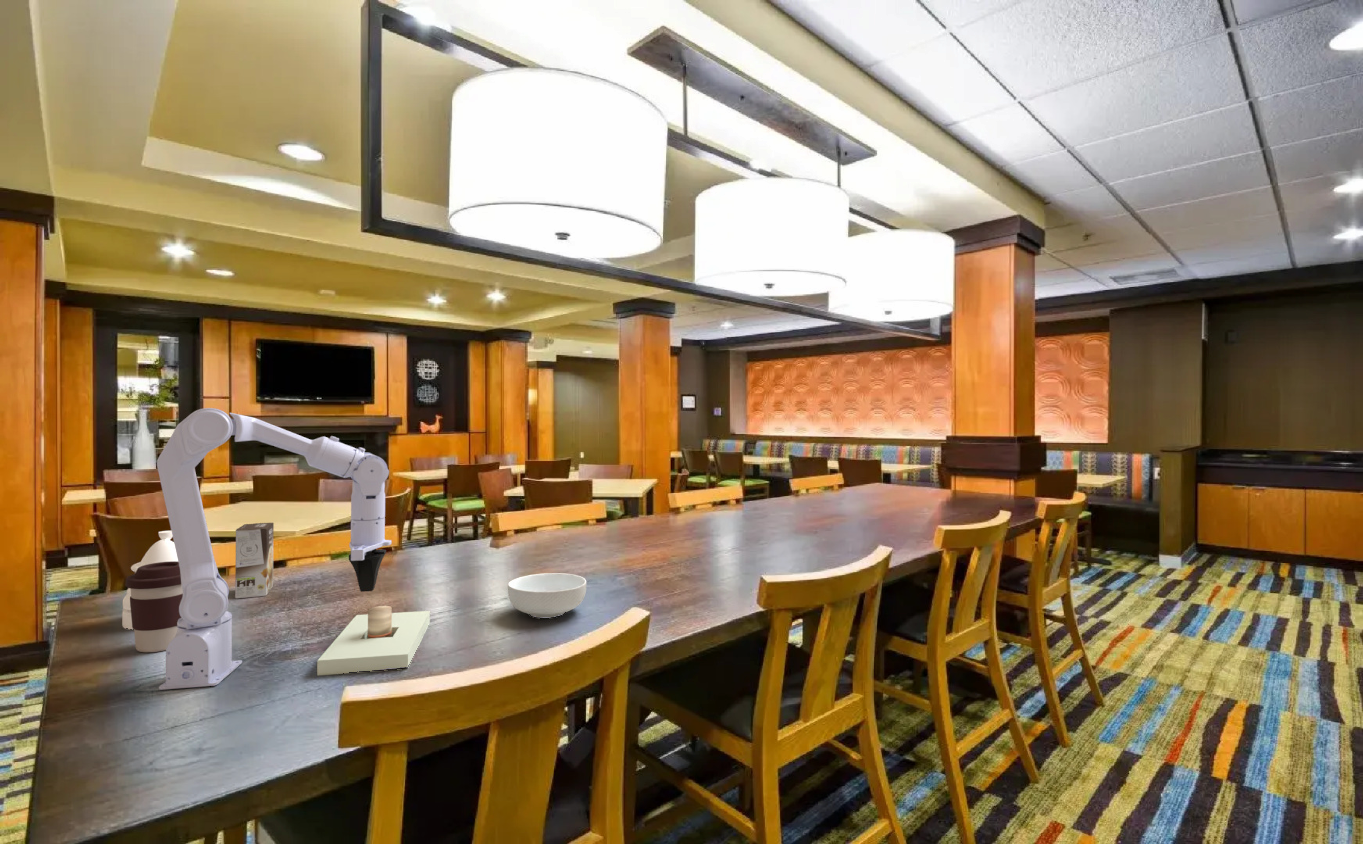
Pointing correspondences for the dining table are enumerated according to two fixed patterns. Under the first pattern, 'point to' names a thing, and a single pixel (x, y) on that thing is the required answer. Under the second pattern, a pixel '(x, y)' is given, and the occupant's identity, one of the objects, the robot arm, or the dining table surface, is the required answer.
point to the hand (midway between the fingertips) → (367, 590)
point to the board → (374, 645)
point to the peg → (380, 622)
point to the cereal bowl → (547, 593)
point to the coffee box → (254, 560)
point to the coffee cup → (155, 604)
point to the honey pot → (155, 554)
